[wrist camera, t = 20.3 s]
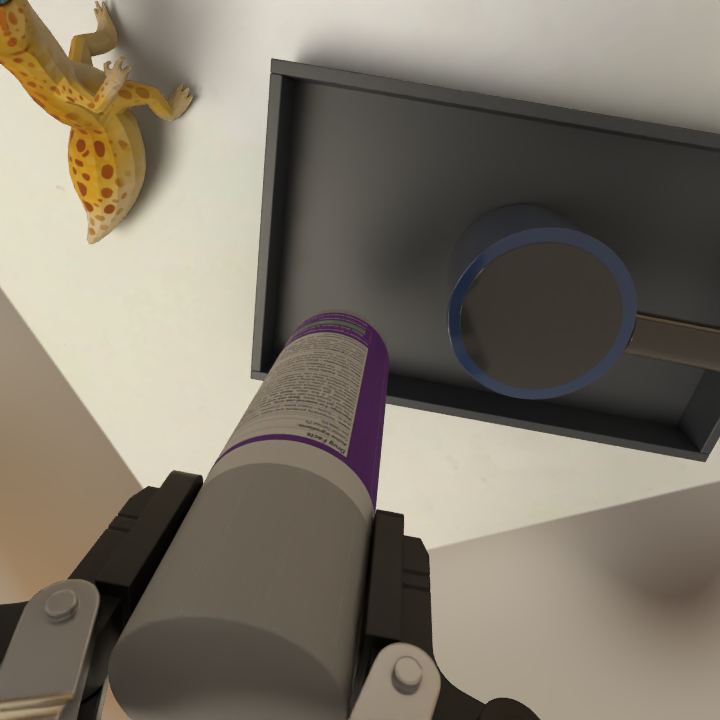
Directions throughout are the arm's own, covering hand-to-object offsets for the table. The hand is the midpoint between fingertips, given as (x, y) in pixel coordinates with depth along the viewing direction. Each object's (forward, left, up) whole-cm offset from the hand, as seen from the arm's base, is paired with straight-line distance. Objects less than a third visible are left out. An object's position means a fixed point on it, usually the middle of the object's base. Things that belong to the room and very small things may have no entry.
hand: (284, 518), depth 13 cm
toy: (+7, +14, -20) cm, 26 cm away
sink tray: (+3, -8, -20) cm, 22 cm away
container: (0, 0, -11) cm, 11 cm away
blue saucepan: (+3, -12, -19) cm, 23 cm away
